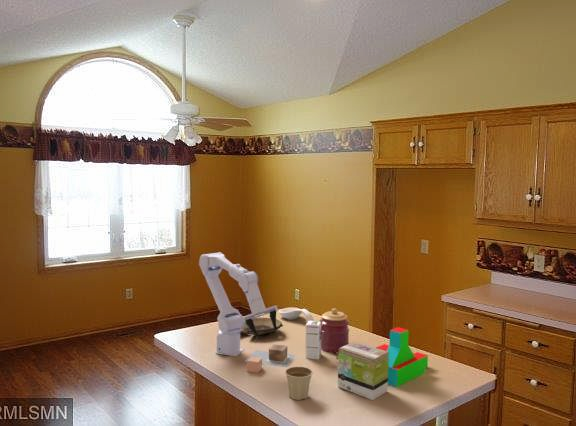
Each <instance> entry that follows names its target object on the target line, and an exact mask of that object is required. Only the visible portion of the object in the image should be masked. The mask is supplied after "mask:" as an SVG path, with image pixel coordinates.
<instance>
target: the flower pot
mask: <svg viewBox="0 0 576 426" xmlns="http://www.w3.org/2000/svg"><path fill="white" fill-rule="evenodd" d="M284 374H285V375H286V379H287V386H288V394H289V397H290V398H291V399H292V400H295V401H301V400H305V399H307V398H308V396H309V389H310V383H311V378H312V375H313V374H314V371H313V370H312V369H311V368H309V367H306V366H292V367H289V368H286V369H285V371H284Z"/></svg>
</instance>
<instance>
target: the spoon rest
mask: <svg viewBox="0 0 576 426" xmlns="http://www.w3.org/2000/svg"><path fill="white" fill-rule="evenodd" d="M302 313H303V315H304V317H305V319H306V323H307V322H308V321H315V319H314V317H313V315H312V313H311V312H310V311H309V310H308V309H306V308H302V309H300V308H285V309H280V310H278V314H279V315H280V316H281V317H282V318H284V319H286V320H296V319H298V318H299V317H300V316H301V315H302Z"/></svg>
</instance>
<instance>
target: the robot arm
mask: <svg viewBox="0 0 576 426" xmlns="http://www.w3.org/2000/svg"><path fill="white" fill-rule="evenodd" d="M198 265H199V268H200V270H201V273H202V274H203V277H205V281H206V283H207V286H208V288H209V289H210V292H211V294H212V297H213V299H214V302H215V303H216V305H217V308H218V311H219V314H218V316H217V318H216V320H217V323H218V329H219V331H218V332H217V334H216V335H217V336H216V352H215V354H217V355H225V356H232V357H237V356H239V355H240V354H241V353H242V352H243V351H244V348H241V332H240V331H242V328H243V327H244V322H246V324H247V325H248V326H249V328H250V329H251V330H252V331H253V333H254V334H255V335H254V336H255V338H256V339H258V338H259V335H258V334H257V332H256V329H255V326H254V323H253V320H252V319H255V318H261V317H263V316H266V315H269V318H271V321H272V324H273V327H274V332H277V331H278V329H277V327H276V319H277V312H279V309H278V306H277V305H273V306H271V307H270V306H269V307H266V306H265V303H264V300H263V297H262V295H261V291H260V287H259V285H258V283H259V276H258V274H257V272H255V271H253V270H252V271H249V270H248V269H247V268H245V267H242V266H241V264H240V263H236V264H234V263H232V262H231V261H230V260H228V259H227V258H226V255H225V254H223V253H222V252H221V251H219V252H213V253H203V254H201V255H200V257H199V261H198ZM223 270H225V271H227V272H228V275H229V277H231V278H233V280H235V281H237V282H238V286H239V287H240V288H241V290H242V291H243V293H244V295H245V297H246V300H247V303H248V306H249V309H250V311H251V313H249V314H247V315H245V316H243V315H242V314H241V313H240V311H239V309H236V308H234V307H233V305H232V304H231V302H230V300H229V297H228V295H227V293H226V290H225V289H224V285H222V282H221V280H220V278H219V275H220V273H221V272H222V271H223Z"/></svg>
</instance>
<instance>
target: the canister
mask: <svg viewBox="0 0 576 426" xmlns="http://www.w3.org/2000/svg"><path fill="white" fill-rule="evenodd" d="M319 321H320V322H321V351H324V352H327V353H332V354H334V353H335V354H339V348H341V347H343V346H345V345H347V344H350V342H349V339H350V337H349V336H350V335H349V334H350V333H349V332H350V328H349V324H350V320H349V319H348V315H347V314H345V313H344V312H343V311H338V308H335V307H334V308H331V310H329V311H326V312H324V313H322V315H321V318H320V319H319Z"/></svg>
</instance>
